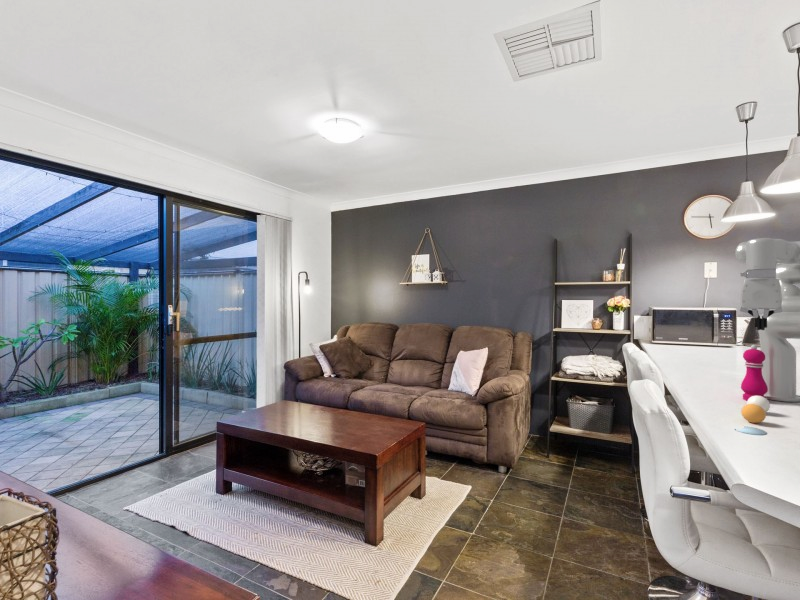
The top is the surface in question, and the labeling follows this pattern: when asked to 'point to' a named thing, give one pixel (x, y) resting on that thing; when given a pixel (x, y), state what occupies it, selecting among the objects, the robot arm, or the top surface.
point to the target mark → (752, 430)
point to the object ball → (753, 413)
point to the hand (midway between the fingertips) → (760, 329)
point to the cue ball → (759, 402)
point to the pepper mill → (753, 374)
